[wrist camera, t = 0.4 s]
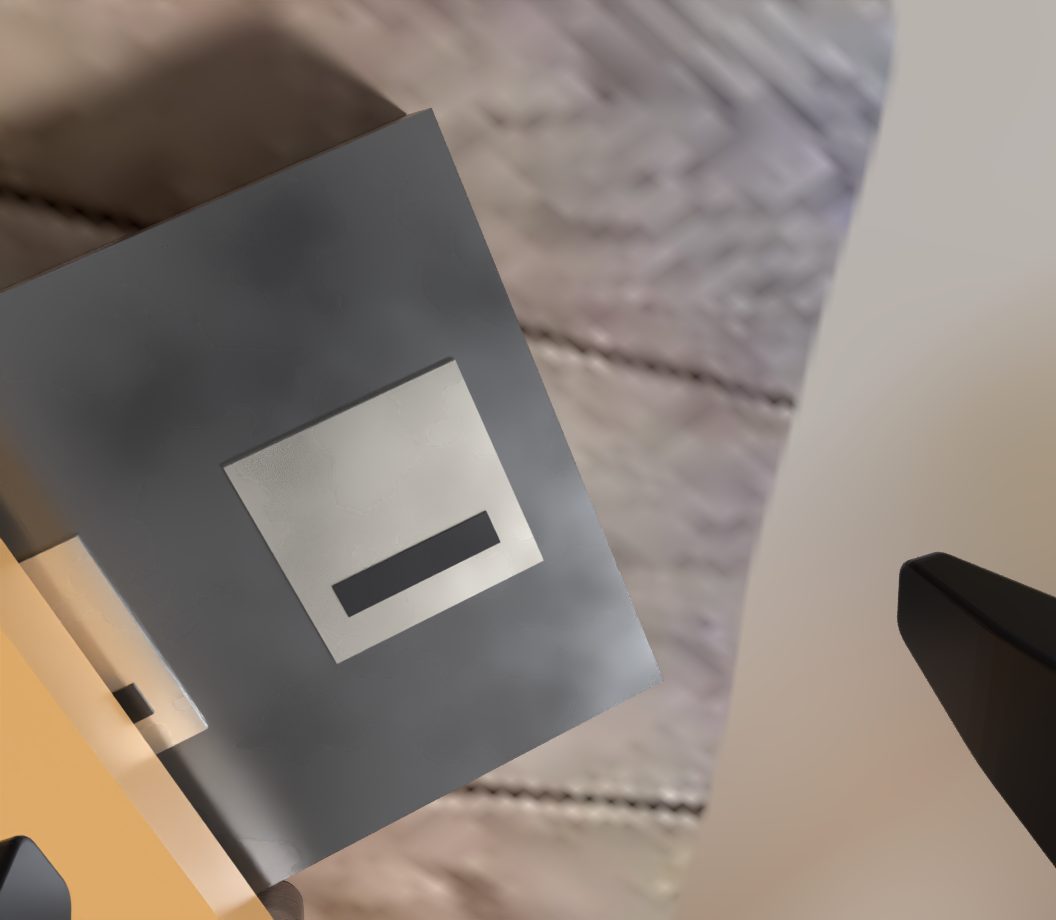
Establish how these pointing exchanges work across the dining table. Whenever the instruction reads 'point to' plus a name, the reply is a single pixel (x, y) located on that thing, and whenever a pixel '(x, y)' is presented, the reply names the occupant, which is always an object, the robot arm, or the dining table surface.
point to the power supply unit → (310, 501)
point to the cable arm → (97, 783)
